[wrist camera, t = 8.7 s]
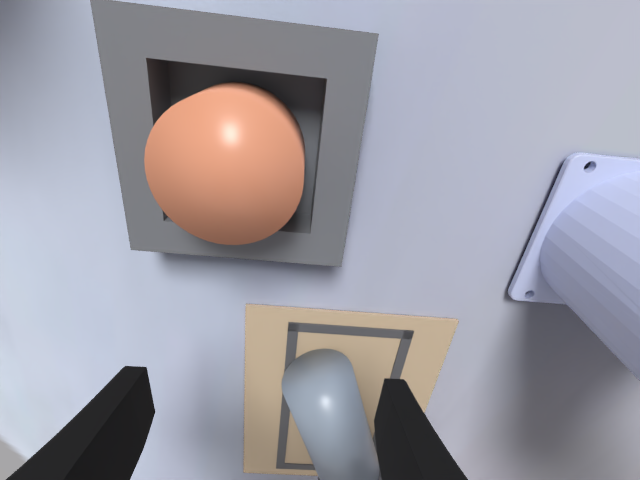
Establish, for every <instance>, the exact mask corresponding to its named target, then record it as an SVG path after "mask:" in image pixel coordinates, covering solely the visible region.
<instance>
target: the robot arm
mask: <svg viewBox="0 0 640 480" xmlns="http://www.w3.org/2000/svg"><path fill="white" fill-rule="evenodd" d="M588 162H590V165H589V167H588V168H586V169H585V170H584V166H585V165H586V164H587V163H588ZM527 291H530V292H529V293H527V294H525V293H526V292H527ZM508 294H509V295H510V297H511V298H512V299H513V300H516V301H528V302H541V303H554V304H567V305H568V306H569V307H570V308H571V309H572V310H573V311H574V312H575V313H576V315H577V316H578V317H579V318H580V319H581V320H582V321H583V322H584V323H585V324H586V325H587V326H588V327H589V328H590V329H591V330H592V331H593V332H594V333H595V335H596V336H597V337H598V338H599V339H600V340H601V341H602V342H603V343H604V344H605V345H606V346H607V347H608V348H609V349H610V350H611V351H612V352H613V353H614V354H615V356H616V357H617V358H618V359H619V360H620V361H621V362H622V363H623V364H624V365H625V366H626V367H627V368H628V369H629V370H630V371H631V372H632V373H633V374H634V376H635V377H636V378H637V379H638V380H639V381H640V159H636V158H627V157H617V156H608V155H599V154H589V153H580V152H579V153H573V154H571V155H570V156H568V157H567V158H566V160H565V161H564V163H563V165H562V168H561V170H560V172H559V175H558V177H557V179H556V181H555V184H554V186H553V188H552V191H551V193H550V195H549V197H548V200H547V202H546V204H545V207H544V209H543V211H542V213H541V216H540V218H539V220H538V223H537V225H536V227H535V230H534V232H533V234H532V236H531V239H530V241H529V243H528V246H527V248H526V250H525V252H524V255H523V257H522V259H521V262H520V264H519V266H518V268H517V271H516V273H515V275H514V278H513V280H512V282H511V285H510V287H509V289H508ZM154 414H155V409H154V404H153V398H152V393H151V388H150V383H149V378H148V373H147V368H146V367H133V366H125V367H124V368H122V369H121V370H120V371H119V373H118V374H117V375H116V376H115V377H114V378H113V379H112V380H111V381H110V382H109V383H108V384H107V385H106V386H105V387H104V388H103V389H102V390H101V391H100V392H99V393H98V394H97V395H96V396H95V397H94V398H93V399H92V400H91V401H90V402H89V403H88V404H87V405H86V406H85V407H84V408H83V409H82V410H81V411H80V412H79V413H78V414H77V415H76V416H75V417H74V418H73V419H72V420H71V421H70V422H69V423H68V424H67V425H66V426H65V427H64V428H63V429H62V430H61V431H60V432H59V433H57V434H56V435H55V436H54V437H53V438H52V439H51V440H50V441H49V442H48V443H47V444H46V445H44V446H43V447H42V448H41V449H40V450H39V451H38V452H37V453H36V454H34V455H33V456H32V457H31V458H30V459H29V460H28V461H27V462H26V463H25V464H23V465H22V466H21V467H20V468H19V469H18V470H17V471H15V472H14V473H13V474H12V475H11V476H10V477H8V478H7V479H6V480H130V478H131V476H132V474H133V471H134V469H135V467H136V465H137V462H138V460H139V458H140V455H141V453H142V451H143V448H144V445H145V442H146V439H147V436H148V433H149V430H150V427H151V424H152V420H153V417H154ZM374 428H375V439H376V449H377V457H378V463H379V468H380V473H381V478H382V480H468V479H467V478H466V476H465V475H464V473H463V472H462V471H461V469H460V468H459V466H458V465H457V464H456V462H455V461H454V459H453V458H452V456H451V455H450V453H449V452H448V450H447V449H446V447H445V446H444V444H443V443H442V441H441V439H440V438H439V436H438V435H437V433H436V432H435V430H434V429H433V427H432V425H431V424H430V422H429V420H428V419H427V417H426V415H425V414H424V412H423V410H422V409H421V407H420V405H419V404H418V402H417V400H416V398H415V397H414V395H413V393H412V391H411V389H410V388H409V386H408V384H407V382H406V381H405V380H404V379H389V378H384V382H383V386H382V390H381V394H380V398H379V402H378V406H377V410H376V414H375V418H374Z"/></svg>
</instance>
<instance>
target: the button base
mask: <svg viewBox="0 0 640 480" xmlns="http://www.w3.org/2000/svg"><path fill="white" fill-rule="evenodd" d="M90 2H91V8H92V14H93V20H94V26H95V32H96V38H97V44H98V51H99V57H100V63H101V69H102V75H103V81H104V87H105V94H106V100H107V106H108V112H109V118H110V124H111V130H112V137H113V143H114V149H115V155H116V161H117V167H118V173H119V180H120V186H121V192H122V198H123V204H124V210H125V216H126V222H127V229H128V235H129V241H130V247H131V250H139V251H151V252H164V253H176V254H189V255H201V256H214V257H226V258H238V259H251V260H263V261H276V262H288V263H301V264H313V265H325V266H338V267H341V265H342V259H343V253H344V247H345V240H346V234H347V228H348V222H349V216H350V209H351V203H352V197H353V191H354V184H355V178H356V172H357V166H358V160H359V153H360V147H361V141H362V135H363V128H364V122H365V116H366V110H367V103H368V97H369V91H370V85H371V79H372V72H373V66H374V60H375V54H376V47H377V41H378V35H379V34H377V33H369V32H361V31H353V30H345V29H337V28H329V27H321V26H313V25H305V24H297V23H289V22H281V21H273V20H265V19H257V18H248V17H240V16H232V15H224V14H216V13H208V12H200V11H192V10H184V9H176V8H168V7H160V6H152V5H144V4H136V3H128V2H120V1H112V0H90ZM226 82H243V83H248V84H253V85H256V86H259V87H261V88H263V89H265V90H267V91H269V92H271V93H272V94H274V95H275V96H277V97H278V98H279V99H280V100H281V101H283V102H284V103H285V104H286V106H287V107H288V108H289V109H290V110H291V112H292V113H293V114H294V116H295V117H296V119H297V121H298V123H299V125H300V128H301V130H302V133H303V137H304V142H305V169H304V185H303V191H302V196H301V199H300V202H299V204H298V206H297V209H296V211H295V212H294V214H293V215H292V217H291V218H290V219H289V221H288V222H287V223H286V224H285V225H284V226H283V227H282V228H281V229H279V230H278V231H277V232H275V233H274V234H272V235H271V236H269V237H267V238H265V239H263V240H260V241H257V242H253V243H249V244H242V245H224V244H217V243H213V242H209V241H206V240H203V239H201V238H198V237H196V236H194V235H192V234H190V233H188V232H187V231H185V230H184V229H182V228H181V227H179V226H178V225H177V224H176V223H174V222H173V221H172V220H171V219H170V218H169V217H168V216H167V215H166V214H165V212H164V211H163V210H162V209H161V208H160V206H159V205H158V203H157V201H156V200H155V198H154V196H153V194H152V192H151V190H150V187H149V184H148V181H147V178H146V173H145V164H144V156H145V147H146V143H147V139H148V137H149V134H150V132H151V130H152V128H153V126H154V125H155V123H156V121H157V120H158V119H159V118H160V117H161V115H162V114H163V113H164V112H165V111H167V110H168V109H169V108H170V107H171V106H173V105H175V104H176V103H178V102H180V101H181V100H183V99H186V98H188V97H190V96H192V95H194V94H196V93H198V92H200V91H202V90H204V89H206V88H208V87H211V86H213V85H216V84H220V83H226Z"/></svg>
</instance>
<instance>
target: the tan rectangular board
mask: <svg viewBox="0 0 640 480" xmlns="http://www.w3.org/2000/svg"><path fill="white" fill-rule="evenodd" d="M458 322H459V321H458V319H450V318H436V317H422V316H408V315H394V314H380V313H367V312H353V311H339V310H325V309H311V308H297V307H284V306H270V305H256V304H246V313H245V395H244V473H262V474H286V475H311V476H318V474H317V472H316V470H315V467H314V465H313V463H312V460H311V458H310V456H309V453H308V451H307V449H306V446H305V444H304V442H303V439H302V437H301V435H300V432H299V430H298V428H297V425H296V423H295V421H294V418H293V416H292V414H291V411H290V409H289V407H288V404H287V402H286V400H285V397H284V395H283V392H282V378H283V375H284V373H285V371H286V369H287V368H288V366H289V365H290V364H291V363H292V362H293V361H294V360H295V359H296V358H298V357H299V356H301V355H302V354H304V353H307V352H309V351H312V350H316V349H333V350H336V351H339V352H341V353H343V354H344V355H345V356H346V357H347V358H348V359H349V360H350V362H351V364H352V367H353V370H354V374H355V377H356V381H357V385H358V388H359V392H360V396H361V399H362V403H363V406H364V410H365V414H366V417H367V421H368V425H369V428H370V432H371V435H372V439H373V443H374V446H375V450H376V453H377V449H376V439H375V428H374V418H375V414H376V410H377V406H378V402H379V398H380V394H381V390H382V386H383V382H384V378H389V379H404V380H405V381H406V382H407V384H408V386H409V388H410V389H411V391H412V393H413V395H414V397H415V398H416V400H417V402H418V404H419V405H420V407H421V409H422V410H423V412H424V413H425V410H426V407H427V405H428V402H429V399H430V397H431V394H432V391H433V389H434V386H435V383H436V381H437V378H438V375H439V373H440V370H441V367H442V365H443V362H444V359H445V357H446V354H447V351H448V349H449V346H450V343H451V341H452V338H453V335H454V333H455V330H456V327H457V325H458Z"/></svg>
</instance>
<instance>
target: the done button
mask: <svg viewBox="0 0 640 480" xmlns="http://www.w3.org/2000/svg"><path fill="white" fill-rule="evenodd" d="M144 164H145V173H146V178H147V181H148V184H149V187H150V190H151V192H152V194H153V196H154V198H155V200H156V201H157V203H158V205H159V206H160V208H161V209H162V210H163V211H164V212H165V214H166V215H167V216H168V217H169V218H170V219H171V220H172V221H173V222H174V223H176V224H177V225H178V226H179V227H181V228H182V229H184V230H185V231H187V232H188V233H190V234H192V235H194V236H196V237H198V238H201V239H203V240H206V241H209V242H213V243H217V244H224V245H242V244H249V243H253V242H257V241H260V240H263V239H265V238H267V237H269V236H271V235H272V234H274V233H275V232H277V231H278V230H279V229H281V228H282V227H283V226H284V225H285V224H286V223H287V222H288V221H289V219H290V218H291V217H292V215H293V214H294V212H295V211H296V209H297V206H298V204H299V202H300V199H301V196H302V191H303V185H304V169H305V142H304V137H303V133H302V130H301V128H300V125H299V123H298V121H297V119H296V117H295V116H294V114H293V113H292V112H291V110H290V109H289V108H288V107H287V106H286V104H285V103H284V102H283V101H281V100H280V99H279V98H278V97H277V96H275V95H274V94H272V93H271V92H269V91H267V90H265V89H263V88H261V87H259V86H256V85H253V84H248V83H243V82H226V83H220V84H216V85H213V86H211V87H208V88H206V89H204V90H202V91H200V92H198V93H196V94H194V95H192V96H190V97H188V98H186V99H183V100H181V101H180V102H178V103H176V104H175V105H173V106H171V107H170V108H169V109H168V110H167V111H165V112H164V113H163V114H162V115H161V117H160V118H159V119H158V120H157V121H156V123H155V125H154V126H153V128H152V130H151V132H150V134H149V137H148V139H147V143H146V147H145V156H144Z"/></svg>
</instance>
